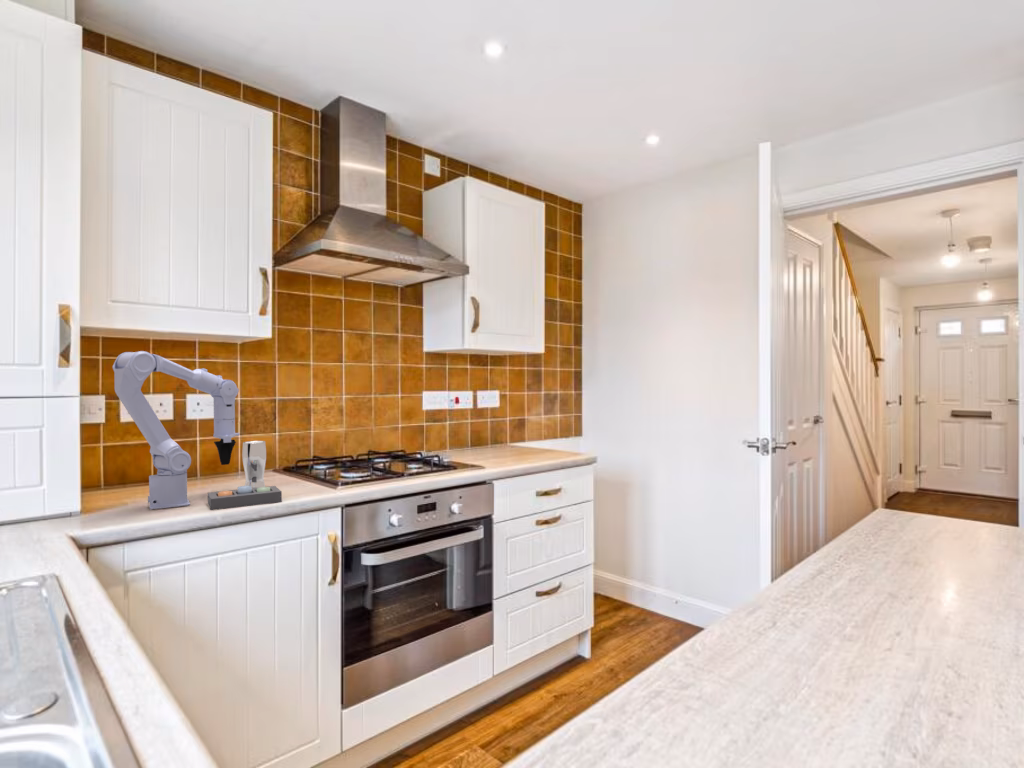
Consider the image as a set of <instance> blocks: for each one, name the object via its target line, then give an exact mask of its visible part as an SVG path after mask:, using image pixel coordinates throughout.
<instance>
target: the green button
mask: <svg viewBox="0 0 1024 768" xmlns="http://www.w3.org/2000/svg"><path fill="white" fill-rule="evenodd" d="M264 491H270V487H269V486H265V487H260V488H257V492H264Z"/></svg>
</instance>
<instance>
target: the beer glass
mask: <svg viewBox="0 0 1024 768" xmlns="http://www.w3.org/2000/svg"><path fill="white" fill-rule="evenodd" d="M241 453H242V454H241V456H242V465H243V470H244V474H245V475H244V476H245V484H244V486H252V488H259V487H266V485H265V479H264V477H265V470H266V463H267V447H266V441H265V440H249V441H243V442H242V452H241Z"/></svg>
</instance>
